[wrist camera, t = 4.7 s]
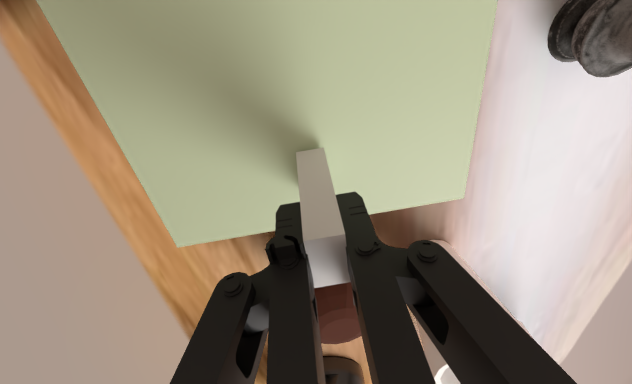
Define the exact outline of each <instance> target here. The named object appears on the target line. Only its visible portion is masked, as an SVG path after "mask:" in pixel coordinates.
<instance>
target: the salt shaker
mask: <svg viewBox="0 0 632 384" xmlns="http://www.w3.org/2000/svg"><path fill="white" fill-rule="evenodd" d="M548 48H549V51H550V53H551V55H552V56H553V57H554V58H555V59H557V60H559V61H562V62H573V61H578V62H579V63H580V64H581V65H582V66H583V68H584V69H585V71H586V72H587V73H588V74H591V75H593V76H595V77H610V76H614V75H618V74H620V73H622V72H624V71H626V70H629V69H631V68H632V0H568V1H567V2H566V4H565V5H564V6H563V7H562V8H561V10H560V11H559V13H558V14H557V16H556V17H555V19H554V21H553V24H552V26H551V28H550V32H549V36H548Z"/></svg>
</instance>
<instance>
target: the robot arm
mask: <svg viewBox="0 0 632 384" xmlns="http://www.w3.org/2000/svg"><path fill="white" fill-rule="evenodd" d="M296 160H297V172H298V184H299V197H300V202H295V203H289V204H283V205H280V206H279V208H278V210H277V212H276V223H275V228H276V229H275V237H274V238H272V239H271V240H270V241H269V242H268V243H267V246H266V249H265V250H266V253H267V256H268V259H269V262H270V265H269V266H268V267H266V268H265V269H264V270H262V271H260V272H258V273H256V274H254V275H251V276H248V275H247V274H246V273H241V272H236V273H232V274H229V275H227V276H225V277H224V278H223V279H222V280H220V281H219V283H218V284H217V286H216V287H215V289H214V291H213V293H212V296H211V298H210V300H209V302H208V304H207V306H206V308H205V310H204V312H203V315H202V317H201V319H200V321H199V323H198V325H197V327H196V329H195V331H194V334H193V336H192V338H191V340H190V342H189V344H188V346H187V348H186V350H185V353H184V355H183V357H182V359H181V361H180V363H179V365H178V368H177V369H176V372H175V374H174V376H173V378H172V380H171V382H170V384H254V381H255V378H256V374H257V370H258V367H259V363H260V359H261V356H262V352H263V349H264V345H265V341H266V338H267V334H268V358H267V384H365V382H364V377H363V372H362V368H361V366H360V365H359V364H357V363H356V362H354V361H352V360H349V359H345V358H339V357H323V355H322V346H321V337H320V329H319V320H318V311H317V302H316V297H315V292H314V288H318V287H324V286H330V285H336V284H342V283H348V282H351V285H352V294H353V303H354V306H355V307H356V312H357V316H358V321H359V325H360V330H361V334H362V339H363V344H364V348H365V353H366V357H367V362H368V366H369V371H370V375H371V380H372V384H436V382H435V380H434V377H433V375H432V372H431V369H430V367H429V364H428V361H427V359H426V356H425V353H424V351H423V348H422V346H421V343H420V340H419V338H418V335H417V332H416V330H415V327H414V324H413V322H412V319H411V317H410V314H409V311H408V309H407V306H408V307H409V309H410V310H411V312H412V313H413V315H414V316H415V318H416V319H417V320H418V322H419V323H420V325H421V326H422V328H423V329H424V331H425V332H426V334H427V335H428V337H429V338H430V340H431V341H432V342H433V344H434V345H435V347H436V348H437V350H438V351H439V353H440V354H441V356H442V357H443V359H444V360H445V361H446V363H447V364H448V366H449V367H450V369H451V370H452V372H453V373H454V375H455V376H456V378H457V379H458V381H459V382H460V383H461V384H577V383H576V382H575V381H574V380H573V379H572V378H571V377H570V376H569V375H568V374H567V373H566V372H565V371H564V370H563V369H562V368H561V367H560V366H559V365H558V364H557V363H556V362H555V361H554V360H553V359H552V358H551V357H550V356H549V355H548V354H547V353H546V352H545V351H544V350H543V349H542V347H541V346H540V345H539V344H538V343H537V342H536V341H535V340H534V339H533V338H532V337H531V336H530V335H529V334H528V333H527V332H526V331H525V330H524V329H523V328H522V327H521V326H520V325H519V324H518V323H517V322H516V321H515V320H514V319H513V318H512V317H511V316H510V315H509V314H508V313H507V312H506V311H505V310H504V309H503V308H502V307H501V306H500V305H499V304H498V303H497V302H496V301H495V300H494V299H493V298H492V297H491V296H490V295H489V293H488V292H487V291H486V290H485V289H484V288H483V287H482V286H481V285H480V284H479V283H478V282H477V281H476V280H475V279H474V278H473V277H472V276H471V275H470V274H469V273H468V272H467V271H466V270H465V269H464V268H463V267H462V266H461V265H460V264H459V263H458V262H457V261H456V260H455V259H454V258H453V257H452V256H451V255H450V254H449V253H448V252H447V251H446V250H445V249H444V248H443V247H442V246H441V245H439V244H438V243H435V242H433V241H428V240H421V241H416V242H414V243H412V244H411V245H410V246H409V248H408V249H404V248H395V247H390V246H388V245H385V244H384V243H382V242H381V241H380V240H379V239H378V237H377V236H376V233H375V231H374V228H373V225H372V222H371V220H370V217H369V214H368V212H367V209H366V207H365V203H364V201H363V198H362V197H361V196H360V195H359V194H358V193H357V192H349V193H343V194H337V195H335V191H334V187H333V183H332V179H331V175H330V171H329V167H328V163H327V159H326V155H325V151H324V147H323V148H318V149H312V150H306V151H300V152H296ZM406 304H407V306H406Z"/></svg>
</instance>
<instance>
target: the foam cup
mask: <svg viewBox="0 0 632 384" xmlns="http://www.w3.org/2000/svg"><path fill="white" fill-rule="evenodd" d="M429 241H433V242H435V243H438V244H439V245H441V246H442V247H443V248H444V249H445V250H446V251H447V252H448V253H449V254H450V255H451V256H452V257H453V258H454V259H455V260H456V261H457V262H458V263H459V264H460V265H461V266H462V267H463V268H464V269H465V270H466V271H467V272H468V273H469V274H470V275H471V276H472V277H473V278H474V279H475V280H476V281H477V282H478V283H479V284H480V285H481V286H482V287H483V288H484V289H485V290H486V291H487V292H488V293H489V295H490V296H491V297H492V298H493V299H494V300H495V301H496V302H497V303H498V304H499V305H500V306H501V307H502V308H503V309H504V310H505V311H506V312H507V313H508V314H509V315H510V316H511V317H512V318H513V319H514V320H515V321H516V322H517V323H518V324H519V325H520V326H521V327H522V328H523V329H524V330H525V331H526V332H527V333H528V334H529V332H528V331H527V329H526V328H525V326H524V325H523V324H522V323H521V322H520V321H518V320H516V319H515V318H514V317H513V315H512V314H511V313H510V312H509V311H508V310H507V309H506V307H505V306H504V305H503V304H502V303H501V302H500V301H499V299H498V298H497V297H496V296H495V295H494V294H493V293H492V291H491V290H490V289H489V288H488V287H487V286H486V285H485V283H484V282H483V281H482V280H481V279H480V278H479V277H478V275H477V274H476V273H475V272H474V271H473V270H472V269H471V267H470V266H469V265H468V264H467V263H466V262H465V261H464V259H463V258H462V257H461V256H460V255H459V254H458V253H457V251H456V250H455V249H454V248H452V246H451V245H450V244H448V243H447V242H445V241H443V240H429ZM416 320H417V319H416ZM417 324H418V328H419V332H420V336H421V340H422V344H423V348H424V353H425V356H426V359H427V361H428V364H429V367H430V369H431V372H432V375H433V377H434V380H435V382H436V384H461V383H460V382H459V381H458V379H457V378H456V376H455V375H454V373H453V372H452V370H451V369H450V367H449V366H448V364H447V363H446V361H445V360H444V359H443V357H442V356H441V354H440V353H439V351H438V350H437V348H436V347H435V345H434V344H433V342H432V341H431V340H430V338H429V337H428V335H427V334H426V332H425V331H424V329H423V328H422V326H421V325H420V323H419V322H418V320H417ZM529 335H530V334H529ZM530 336H531V335H530ZM531 337H532V336H531Z"/></svg>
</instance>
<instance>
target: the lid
mask: <svg viewBox="0 0 632 384" xmlns="http://www.w3.org/2000/svg"><path fill="white" fill-rule="evenodd" d="M36 1H37V3H38V4H39V6H40V8H41V10H42V11H43V13H44V15H45V17H46V18H47V20H48V22H49V24H50V25H51V27H52V29H53V31H54V32H55V34H56V36H57V38H58V39H59V41H60V43H61V45H62V46H63V48H64V50H65V52H66V53H67V55H68V57H69V59H70V60H71V62H72V64H73V66H74V67H75V69H76V71H77V73H78V74H79V76H80V78H81V80H82V81H83V83H84V85H85V87H86V88H87V90H88V92H89V94H90V95H91V97H92V99H93V101H94V102H95V104H96V106H97V108H98V109H99V111H100V113H101V115H102V116H103V118H104V120H105V122H106V123H107V125H108V127H109V129H110V130H111V132H112V134H113V136H114V137H115V139H116V141H117V143H118V144H119V146H120V148H121V150H122V151H123V153H124V155H125V157H126V158H127V160H128V162H129V164H130V165H131V167H132V169H133V170H134V172H135V174H136V176H137V177H138V179H139V181H140V183H141V184H142V186H143V188H144V190H145V191H146V193H147V195H148V197H149V198H150V200H151V202H152V204H153V205H154V207H155V209H156V211H157V212H158V214H159V216H160V218H161V219H162V221H163V223H164V225H165V226H166V228H167V230H168V232H169V233H170V235H171V237H172V239H173V240H174V242H175V244H176V246H177V247H183V246H189V245H195V244H201V243H207V242H213V241H218V240H224V239H230V238H236V237H242V236H248V235H253V234H259V233H265V232H271V231H275V229H276V228H275V223H276V212H277V210H278V208H279V206H280V205H283V204H289V203H295V202H300V197H299V184H298V172H297V160H296V152H300V151H306V150H312V149H318V148H323V147H324V151H325V155H326V159H327V163H328V167H329V171H330V175H331V179H332V183H333V187H334V191H335V195H337V194H343V193H349V192H357V193H358V194H359V195H360V196H361V197H362V198H363V201H364V203H365V207H366V209H367V212H368V214H369V215H370V214H376V213H382V212H387V211H393V210H399V209H405V208H411V207H417V206H422V205H428V204H434V203H440V202H446V201H452V200H457V199H463V198H464V194H465V189H466V183H467V177H468V171H469V165H470V159H471V154H472V148H473V142H474V136H475V130H476V125H477V119H478V113H479V107H480V101H481V95H482V90H483V84H484V78H485V72H486V66H487V61H488V55H489V49H490V43H491V37H492V32H493V26H494V20H495V14H496V8H497V2H498V0H36Z"/></svg>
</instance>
